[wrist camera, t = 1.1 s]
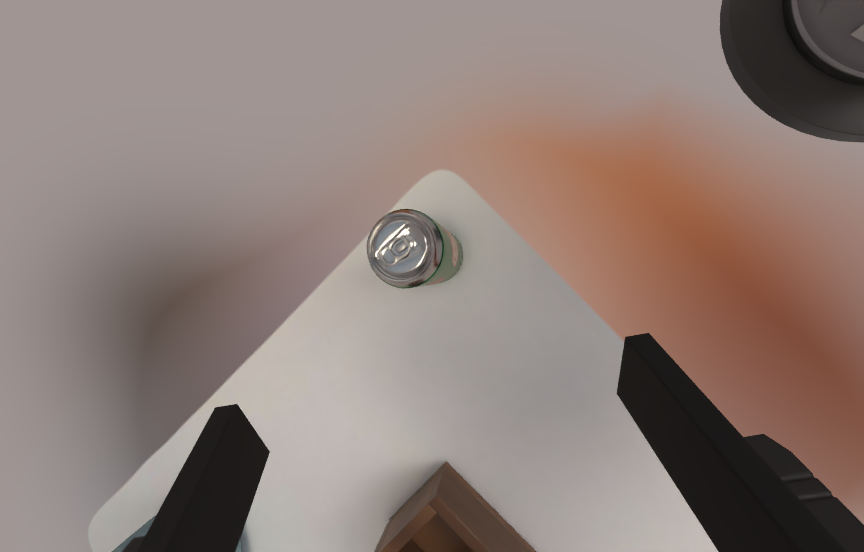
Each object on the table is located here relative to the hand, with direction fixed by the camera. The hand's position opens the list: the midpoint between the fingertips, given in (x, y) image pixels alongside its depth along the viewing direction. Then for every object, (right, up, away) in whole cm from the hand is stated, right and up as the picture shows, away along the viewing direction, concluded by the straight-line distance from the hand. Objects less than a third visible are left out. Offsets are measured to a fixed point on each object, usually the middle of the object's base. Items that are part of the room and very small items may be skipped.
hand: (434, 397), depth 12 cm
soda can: (0, +6, +21) cm, 22 cm away
